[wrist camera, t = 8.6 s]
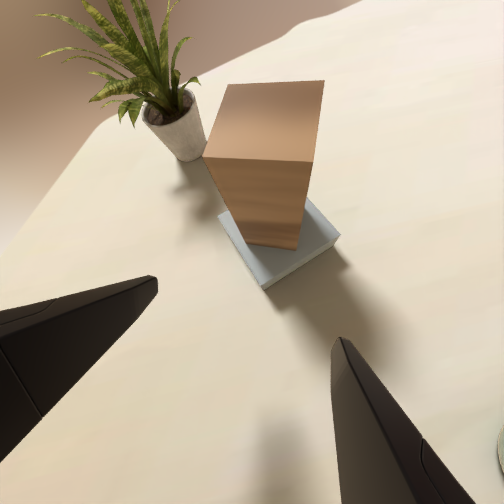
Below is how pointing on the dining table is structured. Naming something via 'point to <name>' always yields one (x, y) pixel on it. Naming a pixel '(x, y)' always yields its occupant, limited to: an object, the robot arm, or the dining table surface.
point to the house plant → (146, 78)
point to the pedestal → (281, 260)
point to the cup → (501, 447)
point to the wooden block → (265, 157)
